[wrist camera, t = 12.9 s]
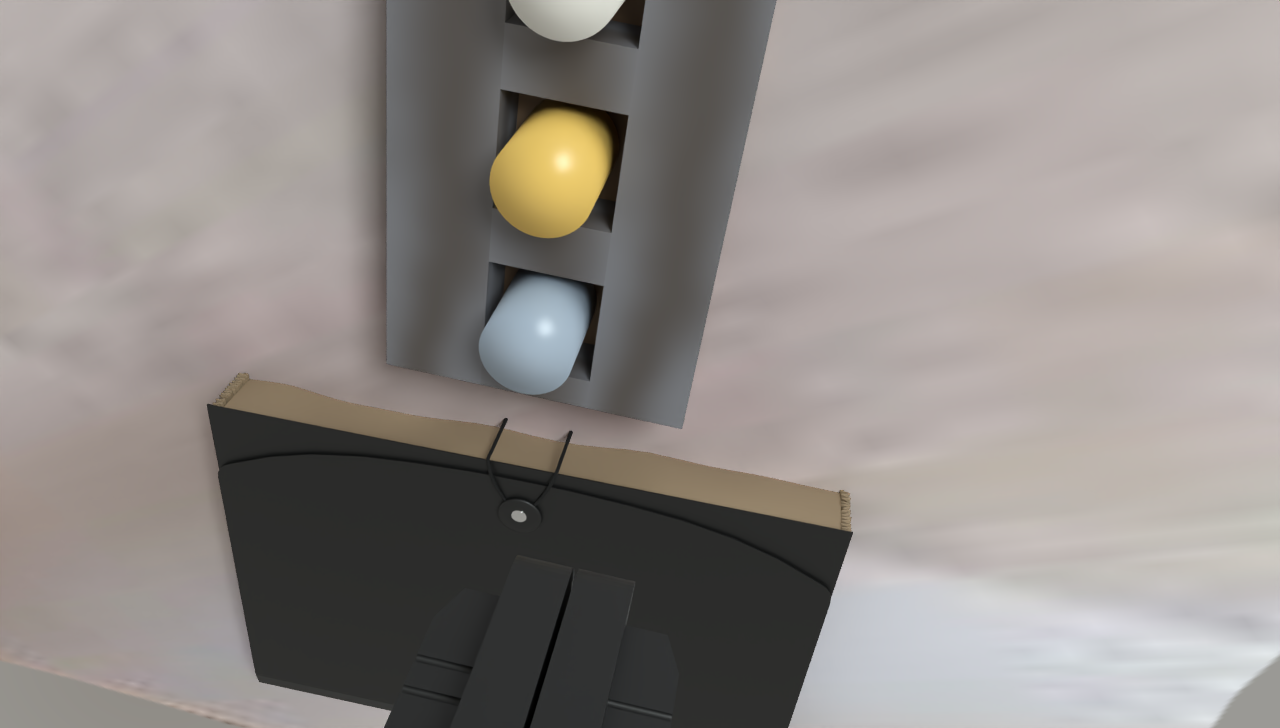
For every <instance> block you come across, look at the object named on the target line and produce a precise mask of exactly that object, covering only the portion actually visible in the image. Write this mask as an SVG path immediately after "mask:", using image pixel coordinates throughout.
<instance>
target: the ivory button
mask: <svg viewBox="0 0 1280 728" xmlns="http://www.w3.org/2000/svg"><path fill="white" fill-rule="evenodd" d="M624 1H625V0H509V2H510V4H511V6H512V8H513V10H514V11H515V13H516V14H517V16H518V17H519V18H520V19H521V20H522V22H523V23H525V24H526V25H527V26H528V27H529V28H530V29H532V30H533V31H534V32H536V33H538V34H539V35H541V36H543V37H546V38H548V39H551V40H555V41H561V42H573V41H579V40H583V39H586V38H588V37H591V36H593V35H594V34H596V33H597V32H599V31H600V30H601V29H602V28H604V27H605V26H606V25H607V23H608V22H609V21H610V20H611V19H612V17H613V16H614V15H615V13H616V12H617V11H618V9H619V8H620V7H621V5H622V4H623V3H624Z"/></svg>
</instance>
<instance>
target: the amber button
mask: <svg viewBox="0 0 1280 728" xmlns="http://www.w3.org/2000/svg"><path fill="white" fill-rule="evenodd" d="M618 152H619V138H618V133H617V130H616V127H615V125H614V123H613V121H612V119H611V118H610V116H609V115H608V114H607V113H606V111H605V110H600V109H595V108H590V107H586V106H581V105H576V104H571V103H566V102H561V101H556V100H551V99H545V100H544V101H542V102H541V103H540V104H538V105H537V106H536V107H535V109H534V110H533V111H532V112H531V113H530V115H529V116H528V117H527V119H526V120H525V121H524V122H523V124H522V125H521V126H520V127H519V129H518V130H517V131H516V133H515V134H514V135H513V136H512V138H511V139H510V140H509V142H508V143H507V144H506V145H505V147H504V148H503V149H502V150H501V152H500V153H499V154H498V156H497V157H496V159H495V161H494V163H493V165H492V168H491V172H490V191H491V195H492V198H493V201H494V203H495V205H496V207H497V209H498V211H499V212H500V213H501V215H502V216H503V217H504V218H505V219H506V220H507V221H508V222H509V223H510V224H511V225H512V226H514V227H515V228H517V229H518V230H520V231H522V232H524V233H526V234H529V235H531V236H535V237H540V238H557V237H562V236H565V235H568V234H570V233H572V232H574V231H575V230H577V229H578V228H579V227H580V226H581V225H582V224H583V223H584V222H585V221H586V220H587V218H588V216H589V215H590V213H591V211H592V209H593V207H594V205H595V203H596V201H597V199H598V197H599V195H600V193H601V191H602V189H603V187H604V185H605V183H606V181H607V179H608V177H609V175H610V173H611V171H612V169H613V167H614V165H615V162H616V160H617V157H618Z"/></svg>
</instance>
